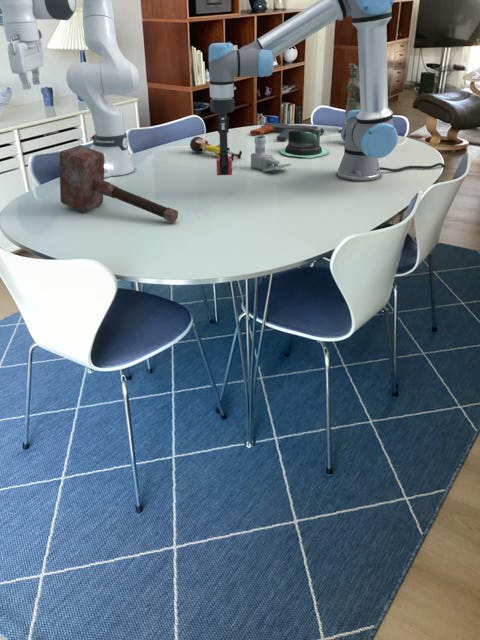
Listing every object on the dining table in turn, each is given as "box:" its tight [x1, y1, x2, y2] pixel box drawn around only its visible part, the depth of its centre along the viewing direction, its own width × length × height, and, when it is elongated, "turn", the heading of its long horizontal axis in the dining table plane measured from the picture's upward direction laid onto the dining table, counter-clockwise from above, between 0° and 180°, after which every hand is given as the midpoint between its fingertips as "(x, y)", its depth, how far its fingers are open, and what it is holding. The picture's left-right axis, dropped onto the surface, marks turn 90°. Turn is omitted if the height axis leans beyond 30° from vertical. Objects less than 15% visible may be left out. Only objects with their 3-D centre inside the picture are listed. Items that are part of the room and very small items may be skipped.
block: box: [215, 157, 233, 176], centre depth 184 cm, size 4×5×5 cm
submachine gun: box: [249, 122, 325, 141], centre depth 263 cm, size 32×3×25 cm
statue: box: [344, 62, 361, 120], centre depth 262 cm, size 11×9×30 cm
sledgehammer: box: [59, 144, 179, 223], centre depth 170 cm, size 17×10×40 cm
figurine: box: [189, 136, 243, 162], centre depth 232 cm, size 13×8×25 cm
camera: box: [250, 134, 292, 173], centre depth 210 cm, size 9×12×15 cm
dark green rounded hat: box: [279, 128, 328, 159], centre depth 234 cm, size 15×19×20 cm
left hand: (32, 86), depth 163 cm, fingers open, 8 cm apart
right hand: (224, 172), depth 185 cm, fingers closed on block, 4 cm apart
